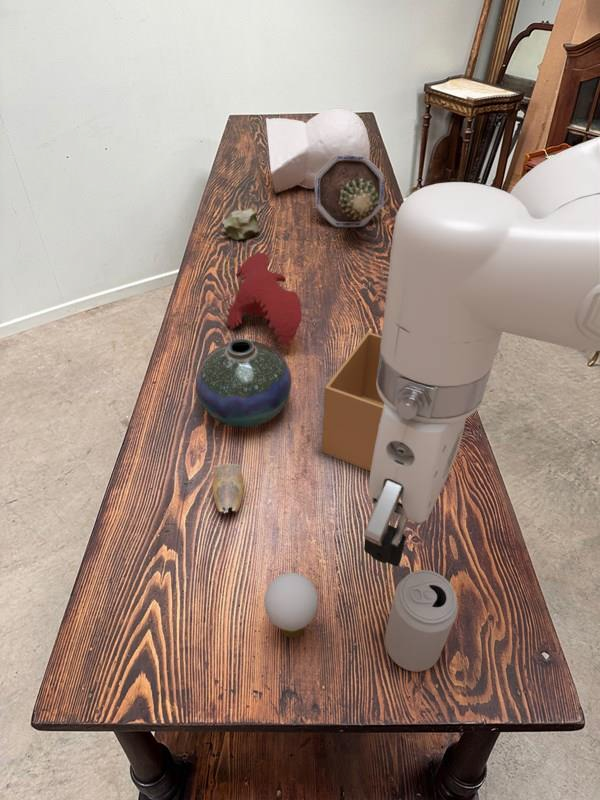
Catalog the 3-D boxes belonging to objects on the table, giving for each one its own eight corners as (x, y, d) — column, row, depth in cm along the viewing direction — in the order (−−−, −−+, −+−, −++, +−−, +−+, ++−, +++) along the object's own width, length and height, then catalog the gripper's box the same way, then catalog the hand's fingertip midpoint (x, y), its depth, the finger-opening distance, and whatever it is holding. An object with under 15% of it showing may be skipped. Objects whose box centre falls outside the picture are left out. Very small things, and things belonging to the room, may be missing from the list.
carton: (433, 420, 89) (448, 356, 80) (400, 483, 79) (413, 419, 70) (360, 395, 93) (367, 331, 84) (321, 452, 84) (324, 387, 75)
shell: (254, 515, 75) (240, 507, 72) (226, 525, 76) (210, 518, 73) (244, 464, 79) (229, 454, 76) (217, 475, 80) (202, 465, 77)
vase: (184, 403, 92) (171, 340, 83) (258, 368, 99) (254, 306, 90) (232, 457, 83) (223, 394, 74) (310, 415, 90) (311, 352, 81)
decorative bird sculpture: (276, 380, 103) (326, 320, 98) (239, 363, 97) (291, 298, 92) (231, 305, 122) (271, 252, 117) (198, 287, 116) (240, 230, 111)
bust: (343, 165, 174) (375, 95, 153) (356, 216, 164) (391, 148, 144) (253, 150, 164) (274, 73, 143) (261, 202, 154) (285, 128, 134)
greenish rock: (263, 233, 142) (266, 206, 135) (249, 251, 136) (251, 224, 130) (231, 221, 143) (232, 194, 136) (215, 240, 137) (216, 212, 131)
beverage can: (444, 674, 60) (467, 626, 52) (386, 674, 60) (400, 625, 52) (434, 618, 64) (454, 566, 56) (381, 617, 64) (392, 565, 56)
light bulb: (292, 596, 66) (291, 552, 60) (327, 629, 63) (330, 587, 57) (256, 629, 63) (251, 587, 57) (291, 666, 60) (290, 626, 54)
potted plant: (311, 149, 143) (323, 160, 117) (377, 151, 144) (405, 162, 118) (308, 218, 151) (319, 242, 125) (371, 219, 153) (395, 243, 126)
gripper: (444, 477, 31) (407, 615, 42) (515, 323, 42) (470, 466, 53) (327, 431, 34) (322, 572, 45) (422, 299, 44) (399, 440, 56)
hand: (402, 515), depth 49 cm, fingers open, 9 cm apart
